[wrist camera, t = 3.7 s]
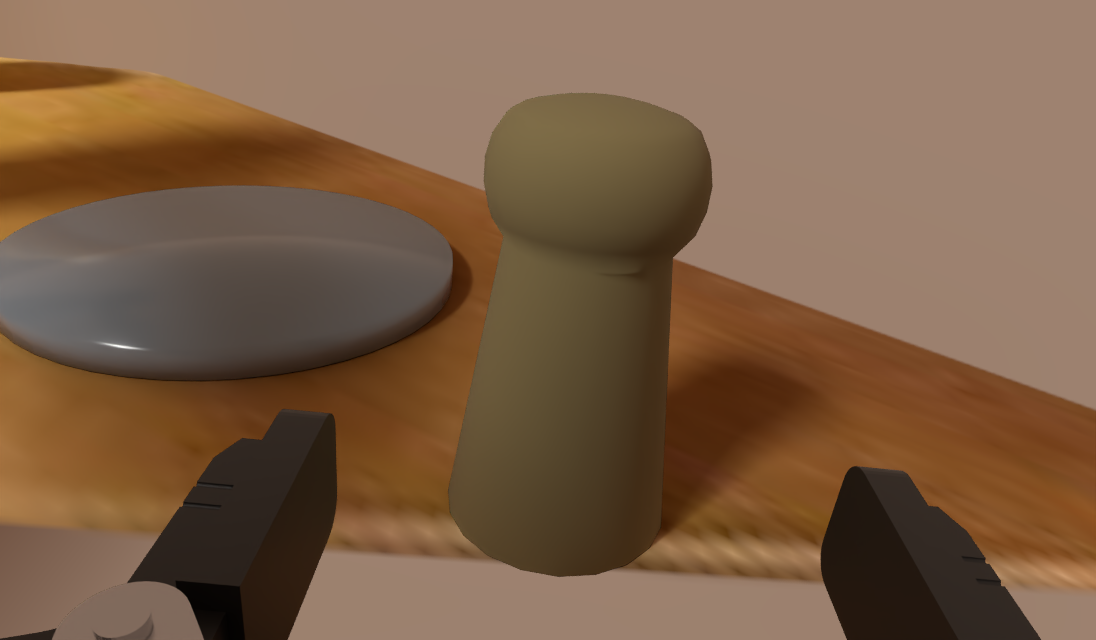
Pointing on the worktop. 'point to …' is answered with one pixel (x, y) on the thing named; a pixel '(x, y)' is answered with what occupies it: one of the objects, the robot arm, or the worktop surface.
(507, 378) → the cork
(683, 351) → the worktop surface
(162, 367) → the slate plate
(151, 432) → the worktop surface
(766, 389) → the worktop surface
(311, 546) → the robot arm
